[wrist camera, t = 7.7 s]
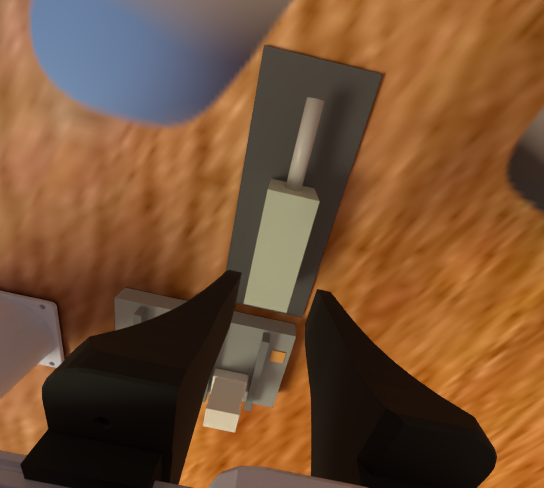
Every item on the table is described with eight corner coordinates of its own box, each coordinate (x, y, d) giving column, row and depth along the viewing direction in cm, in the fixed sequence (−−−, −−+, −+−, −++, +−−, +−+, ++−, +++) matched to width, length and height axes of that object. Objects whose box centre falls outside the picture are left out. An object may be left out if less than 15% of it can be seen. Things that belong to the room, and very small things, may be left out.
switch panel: (125, 362, 26) (110, 384, 24) (124, 287, 23) (106, 305, 20) (273, 393, 27) (272, 417, 24) (295, 324, 23) (296, 345, 21)
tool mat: (221, 298, 23) (221, 299, 22) (264, 46, 15) (264, 45, 15) (302, 316, 23) (302, 317, 23) (381, 74, 16) (382, 74, 15)
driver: (250, 277, 21) (243, 303, 18) (289, 96, 16) (288, 88, 13) (286, 285, 21) (286, 313, 18) (337, 108, 16) (348, 103, 13)
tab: (212, 386, 25) (200, 426, 21) (215, 368, 24) (203, 407, 20) (244, 392, 25) (237, 433, 21) (248, 374, 24) (242, 414, 20)
